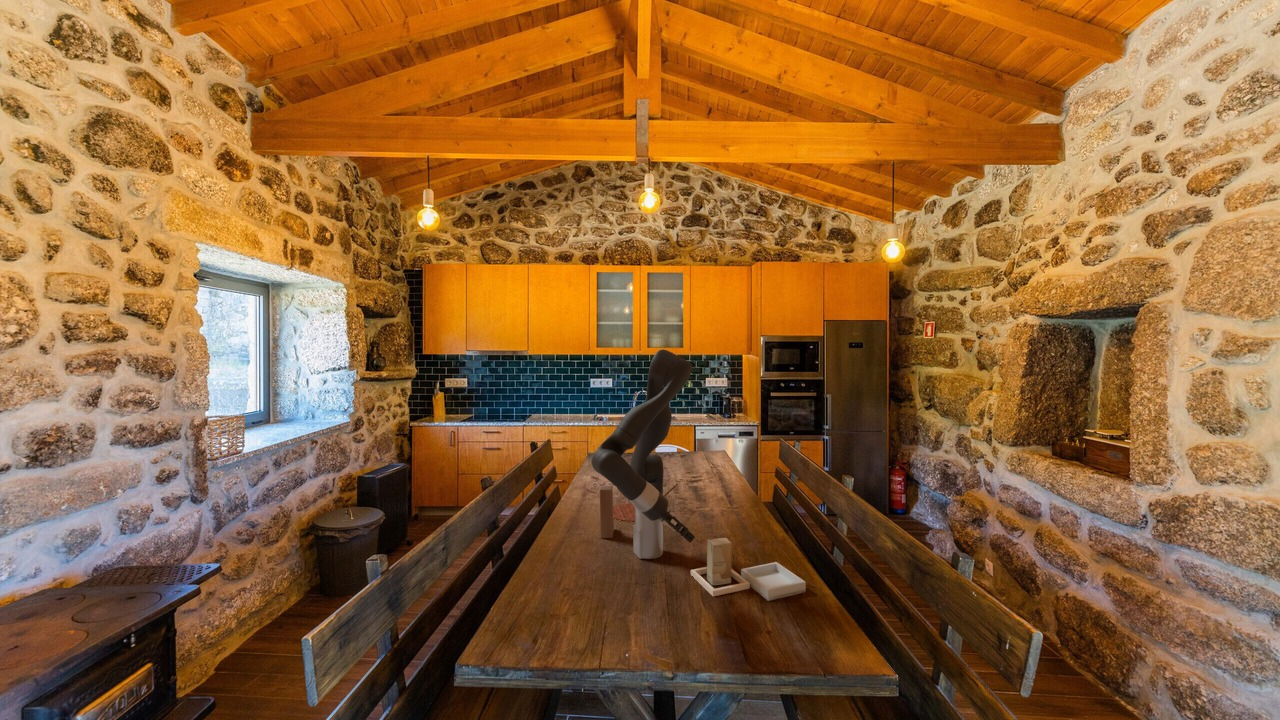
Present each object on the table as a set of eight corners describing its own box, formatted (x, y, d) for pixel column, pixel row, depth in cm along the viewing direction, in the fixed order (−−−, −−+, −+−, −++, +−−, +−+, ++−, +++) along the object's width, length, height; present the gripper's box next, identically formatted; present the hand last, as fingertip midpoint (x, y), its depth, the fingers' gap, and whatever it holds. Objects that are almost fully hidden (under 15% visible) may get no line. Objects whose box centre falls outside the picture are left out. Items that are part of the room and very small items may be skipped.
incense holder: (604, 507, 217) (604, 482, 217) (671, 501, 223) (671, 477, 222) (611, 524, 196) (610, 496, 196) (684, 518, 202) (684, 491, 202)
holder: (713, 596, 140) (713, 591, 140) (690, 574, 153) (690, 569, 153) (749, 588, 144) (749, 583, 144) (724, 567, 157) (724, 563, 157)
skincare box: (712, 586, 146) (711, 545, 145) (706, 579, 150) (706, 539, 149) (732, 583, 147) (732, 542, 147) (726, 576, 151) (725, 536, 151)
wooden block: (602, 529, 191) (601, 482, 190) (613, 529, 191) (613, 482, 190) (600, 538, 182) (599, 489, 181) (612, 538, 182) (612, 489, 181)
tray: (768, 600, 137) (768, 590, 137) (741, 579, 150) (741, 569, 150) (805, 592, 142) (805, 581, 141) (776, 571, 154) (776, 561, 154)
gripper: (667, 496, 134) (705, 532, 138) (647, 482, 147) (683, 515, 152) (648, 519, 132) (688, 554, 137) (630, 502, 145) (667, 535, 150)
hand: (685, 534), depth 144 cm, fingers open, 8 cm apart
